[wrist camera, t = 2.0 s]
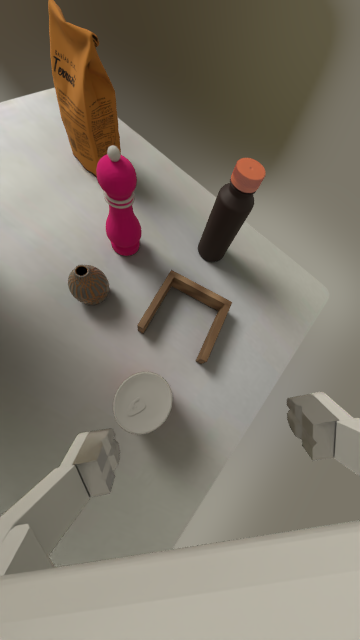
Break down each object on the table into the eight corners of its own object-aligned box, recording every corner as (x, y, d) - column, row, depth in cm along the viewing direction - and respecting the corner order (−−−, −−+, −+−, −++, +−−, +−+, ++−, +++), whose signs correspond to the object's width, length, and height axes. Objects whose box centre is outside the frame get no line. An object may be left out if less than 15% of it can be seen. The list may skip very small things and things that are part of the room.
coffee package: (98, 140, 54) (71, -9, 34) (127, 168, 53) (117, 31, 32) (66, 151, 51) (13, -6, 31) (96, 182, 50) (61, 39, 29)
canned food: (112, 403, 35) (99, 411, 24) (141, 366, 38) (140, 359, 27) (146, 430, 34) (147, 449, 24) (173, 390, 37) (184, 393, 27)
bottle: (221, 265, 48) (269, 190, 30) (195, 257, 48) (227, 175, 29) (225, 244, 51) (272, 162, 32) (200, 236, 50) (233, 147, 31)
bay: (138, 330, 40) (137, 325, 36) (169, 279, 45) (171, 269, 41) (200, 364, 40) (206, 361, 36) (224, 309, 45) (232, 302, 41)
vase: (103, 274, 42) (93, 247, 34) (117, 300, 41) (110, 279, 33) (70, 286, 40) (51, 261, 32) (84, 314, 39) (68, 296, 31)
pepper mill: (147, 249, 46) (150, 156, 27) (121, 263, 44) (103, 172, 25) (130, 227, 47) (121, 124, 28) (103, 239, 45) (74, 136, 26)
